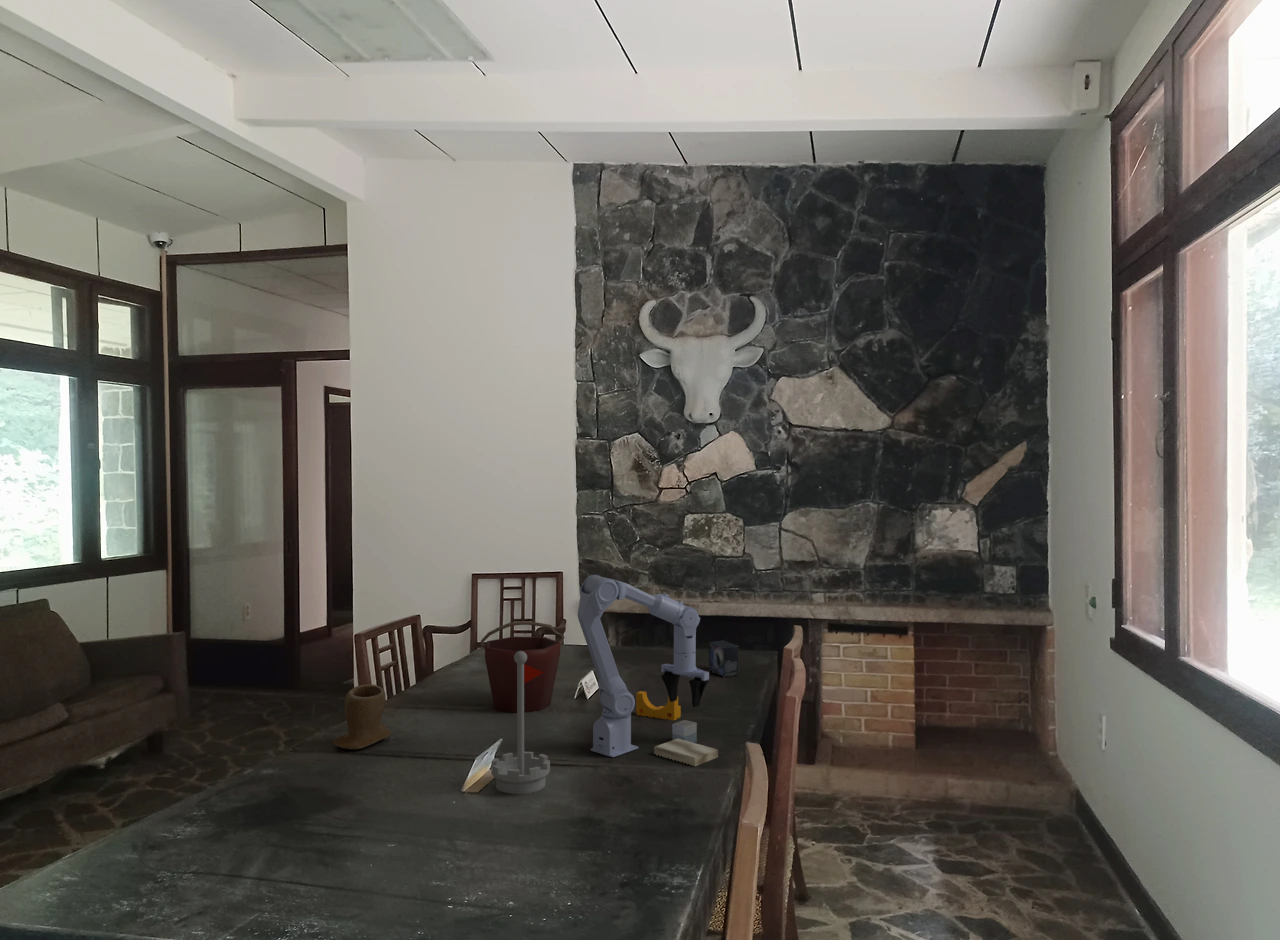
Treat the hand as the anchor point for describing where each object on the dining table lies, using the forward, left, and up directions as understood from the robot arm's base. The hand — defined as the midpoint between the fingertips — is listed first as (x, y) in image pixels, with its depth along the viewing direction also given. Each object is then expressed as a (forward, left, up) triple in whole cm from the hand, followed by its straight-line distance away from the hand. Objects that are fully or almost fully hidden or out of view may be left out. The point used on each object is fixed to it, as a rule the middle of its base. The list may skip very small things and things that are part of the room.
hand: (684, 703), depth 228 cm
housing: (-2, -1, -10) cm, 10 cm away
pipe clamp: (+12, +20, -10) cm, 25 cm away
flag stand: (-50, +7, -10) cm, 51 cm away
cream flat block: (-10, -8, -9) cm, 16 cm away
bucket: (-8, +57, -10) cm, 58 cm away
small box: (+65, +37, -10) cm, 76 cm away
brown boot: (-58, +59, -10) cm, 83 cm away
